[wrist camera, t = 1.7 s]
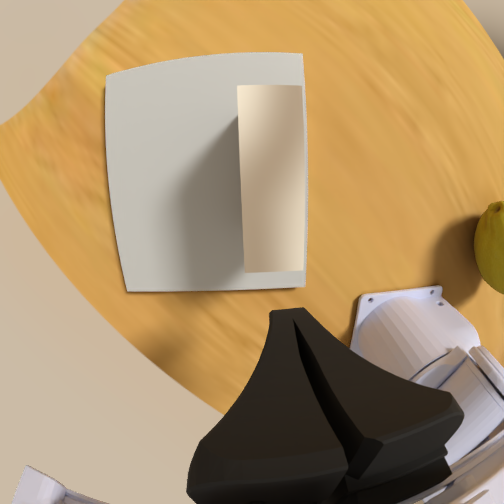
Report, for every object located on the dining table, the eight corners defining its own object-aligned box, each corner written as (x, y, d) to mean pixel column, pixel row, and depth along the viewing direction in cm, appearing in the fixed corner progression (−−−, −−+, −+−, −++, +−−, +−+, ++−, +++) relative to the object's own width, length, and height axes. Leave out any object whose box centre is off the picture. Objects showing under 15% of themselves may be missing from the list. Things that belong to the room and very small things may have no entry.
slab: (280, 111, 16) (301, 85, 9) (283, 229, 19) (303, 270, 12) (240, 112, 16) (237, 85, 9) (245, 230, 19) (244, 272, 12)
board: (299, 58, 15) (302, 53, 14) (302, 280, 21) (305, 286, 20) (112, 78, 15) (106, 75, 14) (131, 285, 21) (127, 291, 20)
